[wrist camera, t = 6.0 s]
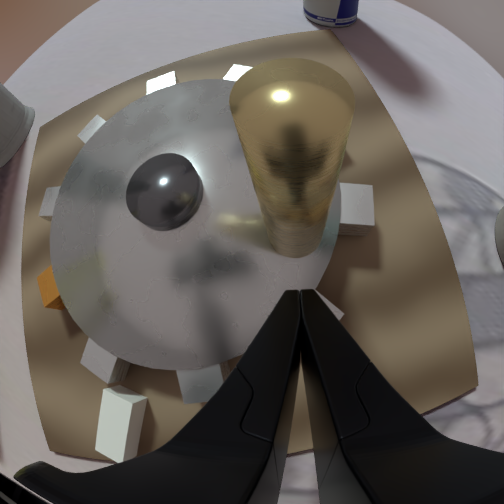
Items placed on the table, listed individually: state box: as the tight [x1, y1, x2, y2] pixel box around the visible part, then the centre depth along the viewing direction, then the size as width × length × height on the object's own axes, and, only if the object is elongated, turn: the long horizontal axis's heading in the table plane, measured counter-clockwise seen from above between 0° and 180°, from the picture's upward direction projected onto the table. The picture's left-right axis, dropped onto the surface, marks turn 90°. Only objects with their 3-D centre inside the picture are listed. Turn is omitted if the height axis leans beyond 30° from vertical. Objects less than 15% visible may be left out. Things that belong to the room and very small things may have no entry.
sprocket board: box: [21, 29, 478, 461], centre depth 18 cm, size 30×30×1 cm
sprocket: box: [37, 58, 375, 404], centre depth 12 cm, size 21×21×11 cm
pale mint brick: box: [95, 385, 147, 463], centre depth 14 cm, size 4×2×2 cm, turn 166°
